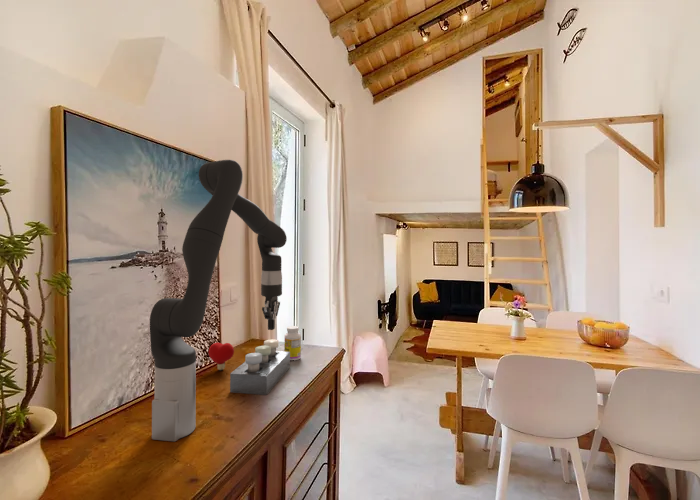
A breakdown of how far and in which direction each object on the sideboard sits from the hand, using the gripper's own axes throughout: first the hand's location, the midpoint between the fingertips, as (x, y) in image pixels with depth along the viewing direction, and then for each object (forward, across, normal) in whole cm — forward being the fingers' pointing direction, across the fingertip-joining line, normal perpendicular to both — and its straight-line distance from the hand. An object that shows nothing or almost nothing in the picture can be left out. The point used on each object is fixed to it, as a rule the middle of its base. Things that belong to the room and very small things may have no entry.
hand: (271, 329), depth 128 cm
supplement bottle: (+16, +14, -4) cm, 21 cm away
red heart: (+15, -3, +18) cm, 24 cm away
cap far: (+9, 0, 0) cm, 9 cm away
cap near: (+9, -16, 0) cm, 19 cm away
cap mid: (+9, -8, 0) cm, 12 cm away
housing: (+15, -8, 0) cm, 17 cm away
